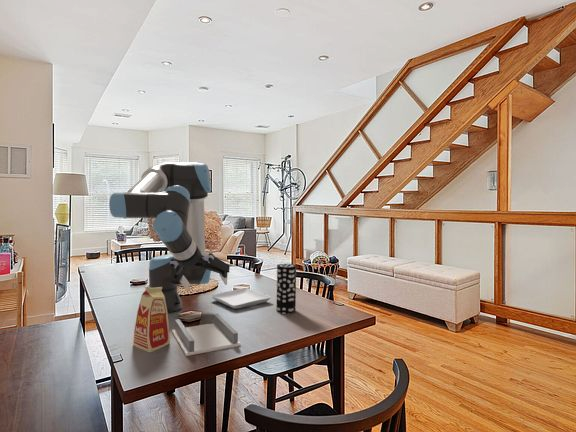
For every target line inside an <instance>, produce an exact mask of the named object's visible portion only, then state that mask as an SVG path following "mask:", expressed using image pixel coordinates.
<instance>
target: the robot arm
mask: <svg viewBox="0 0 576 432" xmlns="http://www.w3.org/2000/svg"><path fill="white" fill-rule="evenodd" d="M141 174H142V175H141V176H140V179H139V180H138V181H137V182H136V183H135V184H134V185H133V186H131V188H130V189H128V191H126V192H125V191H119V192H113V193H112V194H111V195H110V198H109V204H108V205H109V206H108V207H109V212H110V214H111V216H112V217H114V218H116V219H117V218H118V219H119V218H120V219H154V220H153V221H152V228H153V230H154V232H155V234H156V236H157V237H158V239H160V241H161V242H162V243H163V244H164V246H165V247H166V248H167V250H168V252H169V253H170V254H162V255H158V256H155V257H152V258H150V260H149V262H148V263H149V264H148V265H149V266H148V283H149V285H148V287H150V288H157V287H162V290H161V291H162V293H163V295H164V296H165V301H166V307H167V313H168V314H170V313H174V312H176V311H179V310H181V309H182V300H181V297H180V295H179V292H178V285H179V286H183V288H184V289H185V290H186V291H189V290H190V285H198V286H199V285H206V284H209V283H210V280H211V272H214V273H217V274H219V277H220V279H221V281H222V282H223V284H224V286H226V285H228V273H230V264H228V263H226V261H224V260H221V259H220V258H218V257H217V256H215V255H214V254H213V253H212V252H207V251H206V231H205V230H206V227H205V226H206V225H205V223H206V221H205V220H206V219H205V199H206V198H208V196H209V194H208V193H211V192H212V181H211V174H210V169H209V167H208V165H207V164H206V163H201V162H200V163H199V162H186V161H185V162H178V161H176V162H175V161H174V162H173V161H167V162H162V163H159V164H158V163H157V164H156V165H153V166H150V167H148V168H147V169H146V170H144V172H143V173H141Z"/></svg>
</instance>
